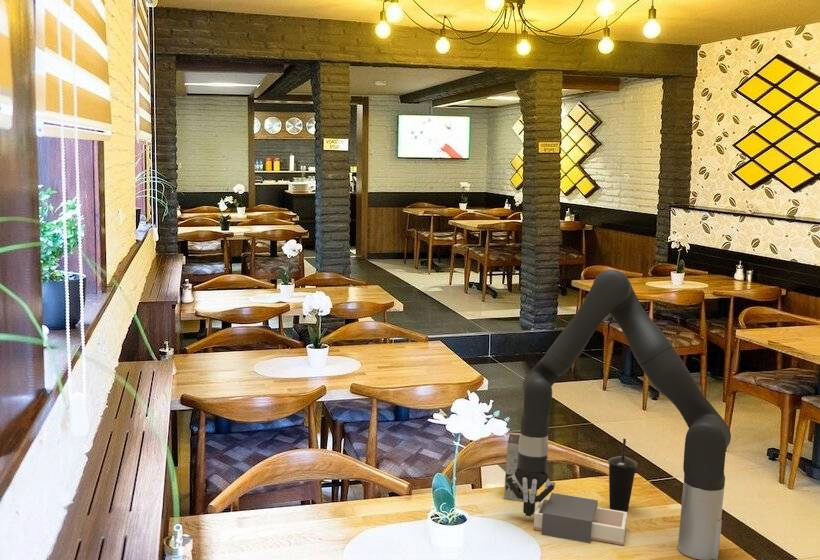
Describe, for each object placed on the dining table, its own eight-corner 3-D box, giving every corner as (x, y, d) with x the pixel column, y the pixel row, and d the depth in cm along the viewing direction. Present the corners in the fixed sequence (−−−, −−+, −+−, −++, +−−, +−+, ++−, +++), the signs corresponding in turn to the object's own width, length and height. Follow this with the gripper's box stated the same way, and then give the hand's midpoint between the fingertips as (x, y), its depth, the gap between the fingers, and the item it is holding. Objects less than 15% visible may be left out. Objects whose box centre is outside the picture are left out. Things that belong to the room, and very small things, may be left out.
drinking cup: (621, 518, 216) (628, 445, 213) (598, 508, 221) (604, 437, 219) (639, 511, 220) (645, 440, 218) (615, 502, 226) (621, 432, 224)
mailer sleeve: (596, 520, 213) (597, 500, 213) (590, 543, 200) (591, 521, 199) (550, 512, 217) (551, 492, 216) (541, 534, 203) (542, 512, 203)
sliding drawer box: (626, 527, 209) (627, 512, 209) (623, 545, 199) (624, 529, 198) (540, 512, 216) (541, 497, 216) (533, 528, 206) (534, 513, 205)
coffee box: (526, 502, 224) (530, 445, 222) (503, 499, 225) (506, 442, 223) (528, 489, 233) (532, 435, 231) (506, 487, 234) (509, 432, 232)
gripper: (560, 450, 211) (556, 514, 213) (510, 442, 215) (506, 505, 217) (556, 459, 204) (551, 525, 206) (504, 451, 208) (500, 516, 210)
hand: (528, 515), depth 211 cm, fingers closed
